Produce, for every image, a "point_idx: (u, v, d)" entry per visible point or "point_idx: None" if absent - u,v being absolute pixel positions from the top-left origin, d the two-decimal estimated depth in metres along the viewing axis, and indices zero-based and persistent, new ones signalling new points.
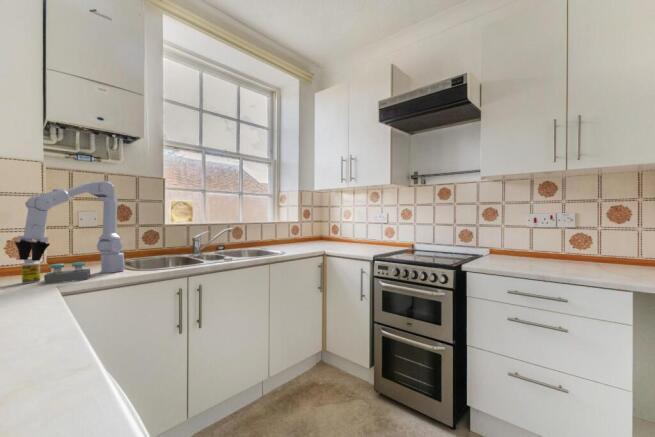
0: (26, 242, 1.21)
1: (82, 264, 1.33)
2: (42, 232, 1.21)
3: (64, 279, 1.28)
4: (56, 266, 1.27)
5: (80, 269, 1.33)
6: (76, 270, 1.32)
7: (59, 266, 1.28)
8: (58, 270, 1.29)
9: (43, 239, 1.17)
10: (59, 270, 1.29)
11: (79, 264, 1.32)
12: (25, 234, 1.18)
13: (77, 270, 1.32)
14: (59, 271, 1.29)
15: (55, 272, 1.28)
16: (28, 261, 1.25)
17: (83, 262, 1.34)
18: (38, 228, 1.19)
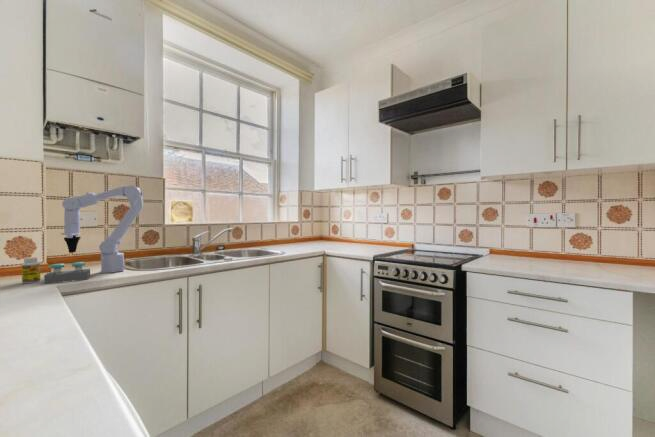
0: None
1: (82, 264, 1.33)
2: (75, 229, 1.41)
3: (64, 279, 1.28)
4: (56, 266, 1.27)
5: (80, 269, 1.33)
6: (76, 270, 1.32)
7: (59, 266, 1.28)
8: (58, 270, 1.29)
9: (67, 235, 1.36)
10: (59, 270, 1.29)
11: (79, 264, 1.32)
12: None
13: (77, 270, 1.32)
14: (59, 271, 1.29)
15: (55, 272, 1.28)
16: (28, 261, 1.25)
17: (83, 262, 1.34)
18: (70, 226, 1.40)
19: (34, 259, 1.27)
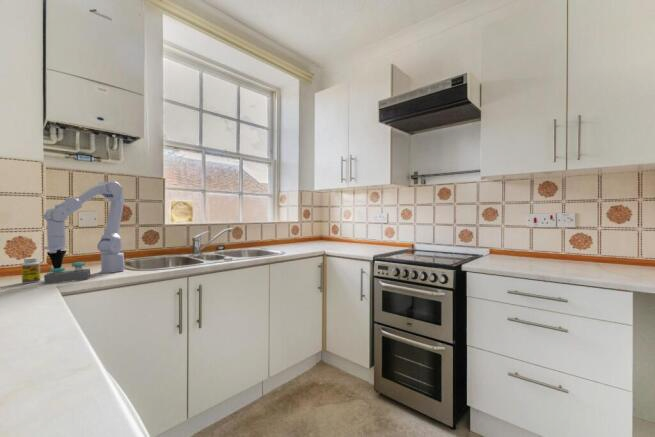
0: None
1: (82, 264, 1.33)
2: (59, 242, 1.28)
3: (64, 279, 1.28)
4: (56, 270, 1.28)
5: (80, 269, 1.33)
6: (76, 270, 1.32)
7: (59, 270, 1.28)
8: None
9: (50, 250, 1.23)
10: None
11: (79, 264, 1.32)
12: None
13: (77, 270, 1.32)
14: None
15: None
16: (28, 261, 1.25)
17: (83, 262, 1.34)
18: (53, 239, 1.27)
19: (34, 259, 1.27)
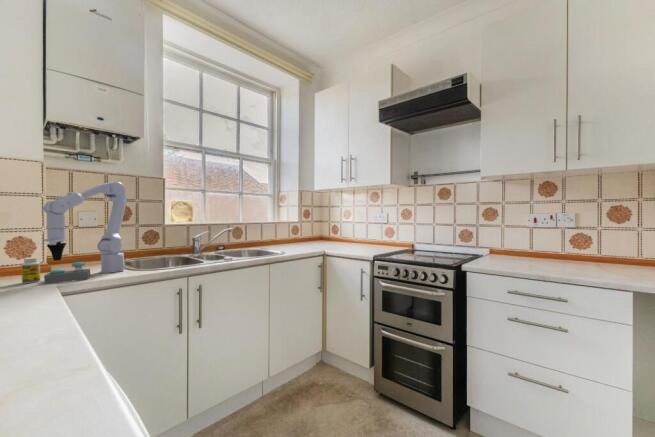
0: None
1: (82, 264, 1.33)
2: (59, 234, 1.28)
3: (64, 279, 1.28)
4: (56, 272, 1.28)
5: (80, 269, 1.33)
6: (76, 270, 1.32)
7: (59, 272, 1.28)
8: None
9: (50, 242, 1.23)
10: None
11: (79, 264, 1.32)
12: None
13: (77, 270, 1.32)
14: None
15: None
16: (28, 261, 1.25)
17: (83, 262, 1.34)
18: (53, 231, 1.26)
19: (34, 259, 1.27)
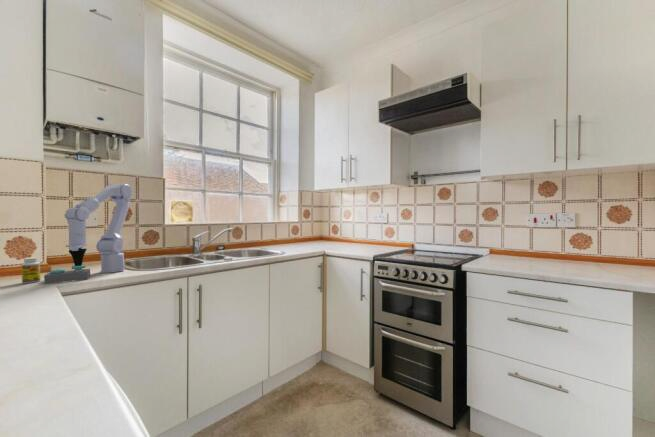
0: None
1: (82, 267, 1.33)
2: (80, 240, 1.31)
3: (64, 279, 1.28)
4: (56, 272, 1.28)
5: None
6: None
7: (59, 272, 1.28)
8: None
9: (73, 248, 1.26)
10: None
11: (79, 267, 1.32)
12: (69, 243, 1.31)
13: None
14: None
15: None
16: (28, 261, 1.25)
17: (83, 265, 1.34)
18: (75, 237, 1.30)
19: (34, 259, 1.27)
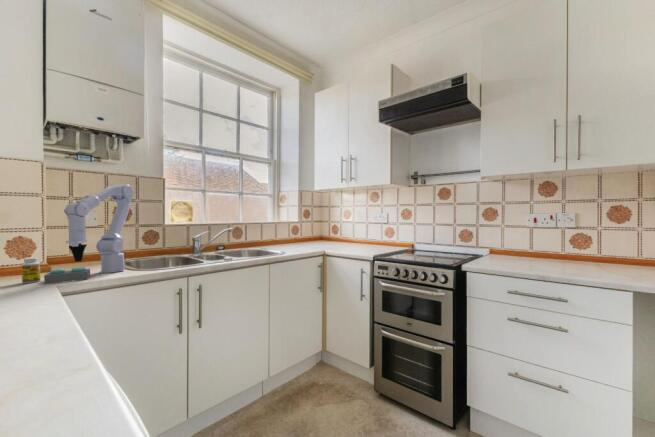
0: None
1: (82, 269, 1.33)
2: (80, 236, 1.31)
3: (64, 279, 1.28)
4: (56, 272, 1.28)
5: None
6: None
7: (59, 272, 1.28)
8: None
9: (73, 244, 1.26)
10: None
11: (79, 269, 1.32)
12: (69, 239, 1.31)
13: None
14: None
15: None
16: (28, 261, 1.25)
17: (83, 267, 1.34)
18: (75, 233, 1.30)
19: (34, 259, 1.27)
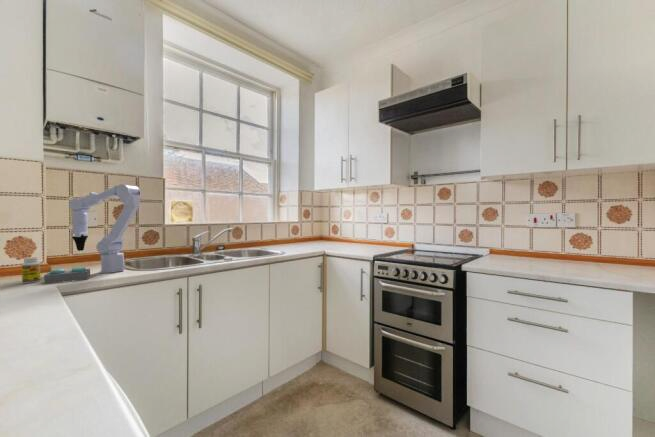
0: None
1: (82, 269, 1.33)
2: (82, 228, 1.47)
3: (64, 279, 1.28)
4: (56, 272, 1.28)
5: None
6: None
7: (59, 272, 1.28)
8: None
9: (76, 234, 1.43)
10: None
11: (79, 269, 1.32)
12: None
13: None
14: None
15: None
16: (28, 261, 1.25)
17: (83, 267, 1.34)
18: (78, 225, 1.46)
19: (34, 259, 1.27)
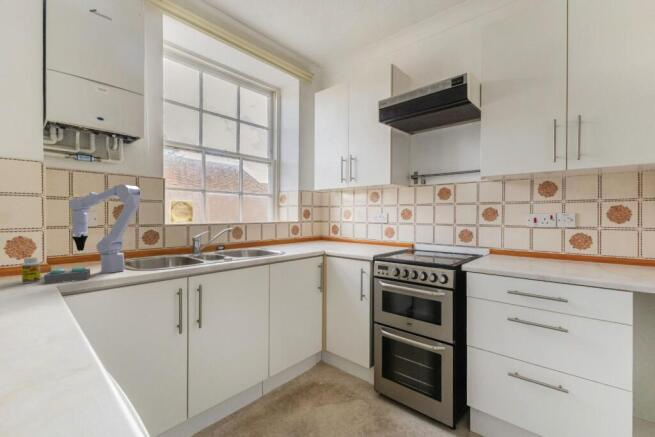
0: None
1: (82, 269, 1.33)
2: (82, 228, 1.48)
3: (64, 279, 1.28)
4: (56, 272, 1.28)
5: None
6: None
7: (59, 272, 1.28)
8: None
9: (76, 234, 1.43)
10: None
11: (79, 269, 1.32)
12: None
13: None
14: None
15: None
16: (28, 261, 1.25)
17: (83, 267, 1.34)
18: (78, 225, 1.46)
19: (34, 259, 1.27)
